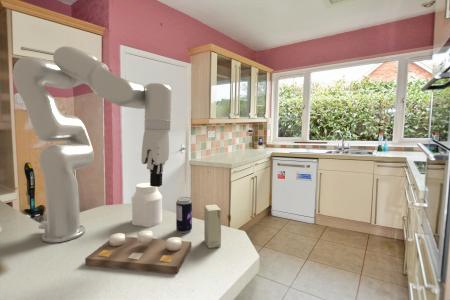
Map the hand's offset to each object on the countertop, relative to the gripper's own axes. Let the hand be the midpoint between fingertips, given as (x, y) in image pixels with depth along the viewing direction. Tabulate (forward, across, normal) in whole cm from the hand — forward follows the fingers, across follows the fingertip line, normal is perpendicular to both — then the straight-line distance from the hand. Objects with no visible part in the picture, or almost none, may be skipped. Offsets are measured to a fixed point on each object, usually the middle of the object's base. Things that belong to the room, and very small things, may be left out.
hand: (156, 185), depth 76 cm
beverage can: (+20, -14, +5) cm, 25 cm away
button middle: (+16, +3, -2) cm, 16 cm away
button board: (+20, +6, -1) cm, 21 cm away
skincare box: (+20, -6, +18) cm, 27 cm away
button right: (+17, +3, +8) cm, 19 cm away
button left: (+18, +4, -10) cm, 21 cm away
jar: (+21, -19, -12) cm, 31 cm away
